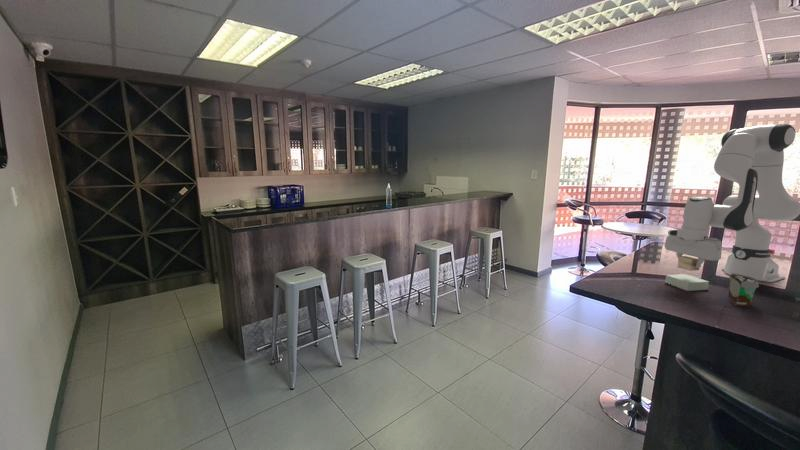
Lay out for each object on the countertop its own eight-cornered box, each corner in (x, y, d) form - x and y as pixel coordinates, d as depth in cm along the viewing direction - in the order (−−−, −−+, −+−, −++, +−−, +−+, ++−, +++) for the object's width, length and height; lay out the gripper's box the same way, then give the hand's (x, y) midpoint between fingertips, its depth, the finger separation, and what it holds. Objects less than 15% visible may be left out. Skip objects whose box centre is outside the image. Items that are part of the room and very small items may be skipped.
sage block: (684, 282, 146) (685, 273, 145) (707, 290, 136) (709, 281, 135) (665, 283, 145) (666, 275, 144) (687, 291, 135) (688, 282, 134)
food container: (760, 310, 116) (766, 285, 114) (737, 307, 119) (742, 281, 117) (747, 299, 126) (752, 275, 124) (726, 296, 129) (730, 272, 127)
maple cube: (686, 266, 142) (688, 255, 141) (698, 270, 137) (700, 258, 136) (677, 267, 141) (679, 256, 140) (689, 270, 136) (691, 259, 135)
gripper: (728, 239, 127) (722, 272, 129) (675, 229, 147) (670, 258, 149) (716, 239, 126) (710, 273, 128) (664, 230, 145) (660, 259, 148)
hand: (688, 265), depth 139 cm, fingers closed on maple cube, 5 cm apart
